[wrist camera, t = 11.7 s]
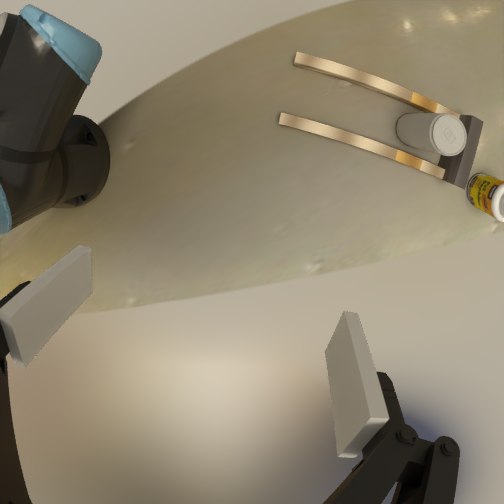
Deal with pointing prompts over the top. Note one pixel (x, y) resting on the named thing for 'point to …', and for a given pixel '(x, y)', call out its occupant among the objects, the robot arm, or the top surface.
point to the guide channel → (448, 168)
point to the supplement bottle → (487, 195)
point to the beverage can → (432, 132)
